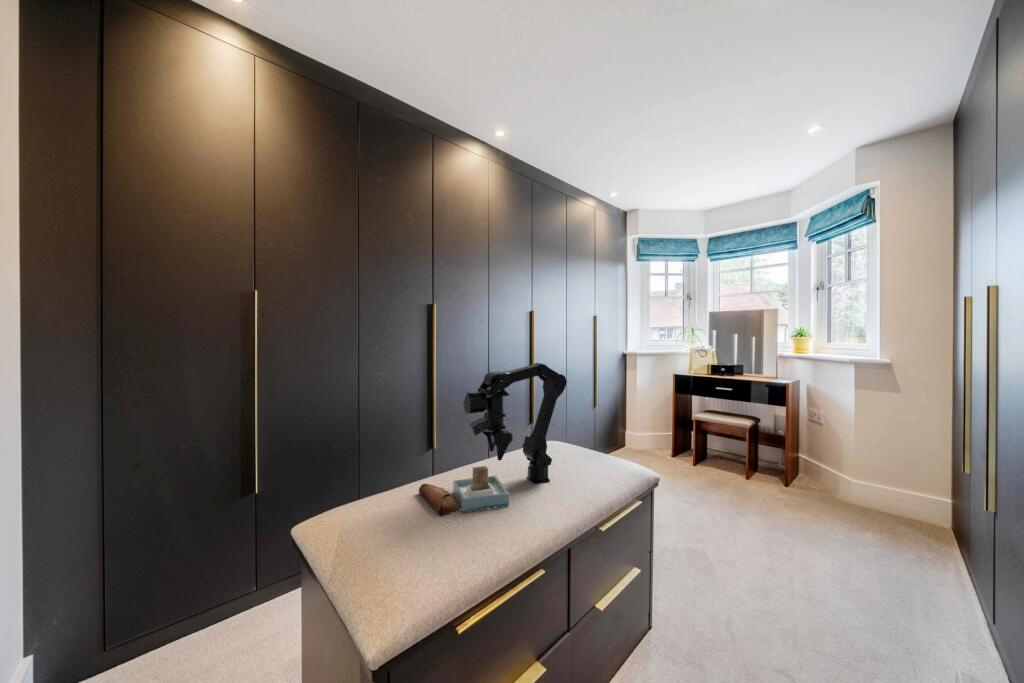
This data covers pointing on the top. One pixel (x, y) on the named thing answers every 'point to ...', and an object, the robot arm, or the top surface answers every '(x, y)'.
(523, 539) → the top surface
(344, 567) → the top surface
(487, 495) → the candle dish
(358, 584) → the top surface
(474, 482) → the brown wooden block
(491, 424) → the robot arm
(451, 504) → the sunglasses case
